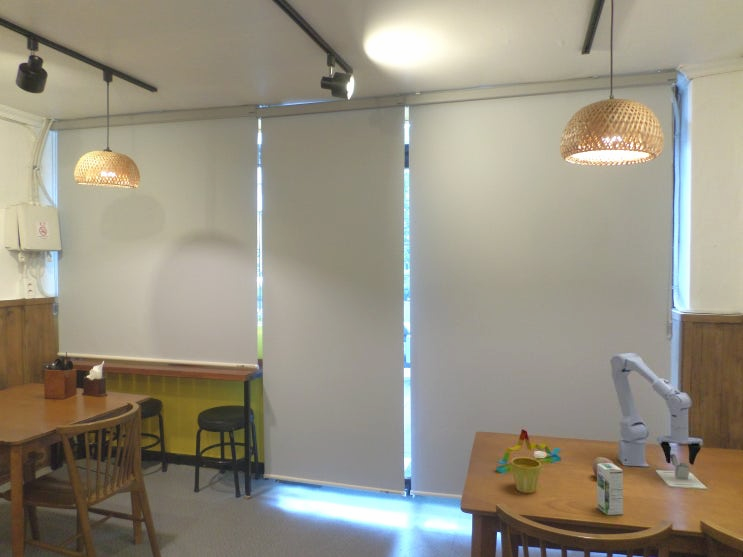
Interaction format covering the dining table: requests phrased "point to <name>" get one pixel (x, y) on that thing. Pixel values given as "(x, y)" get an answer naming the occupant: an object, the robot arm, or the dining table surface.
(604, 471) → the syrup box
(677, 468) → the lighter
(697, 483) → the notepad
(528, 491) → the plant pot
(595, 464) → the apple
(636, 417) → the robot arm
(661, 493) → the dining table surface
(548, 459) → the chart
